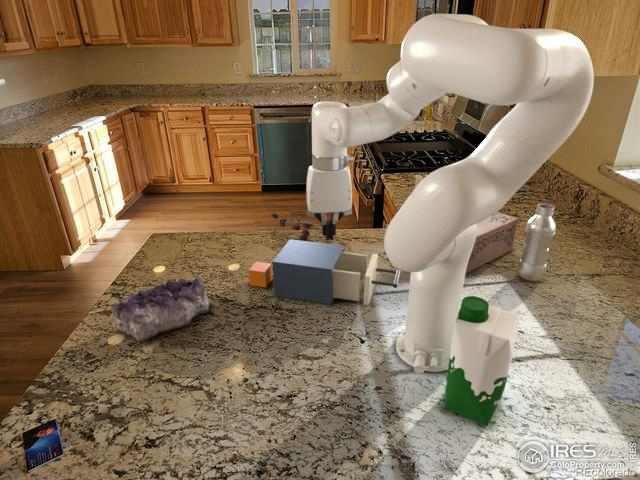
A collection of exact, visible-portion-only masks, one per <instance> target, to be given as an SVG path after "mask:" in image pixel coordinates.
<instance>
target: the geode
mask: <svg viewBox="0 0 640 480" xmlns="http://www.w3.org/2000/svg"><path fill="white" fill-rule="evenodd" d="M209 294H210V292H208V291H207V289H206V287H205V284H204V282H203V281H202V279H201V278H200V277H195V278H194V279H193V280H189V279H185V278H180V279H179V280H178V281H177V280H175V281H173V280H171V279H167V280H166V282H165V284H163V283H161V284H159V285H156V286H154V287H151V288H148V289H145V290H142V289H139V290H138V292H136V293H134V294H133V295H131V294H129V295H128V296H126V297H125V298H124V300H123V301H122V302H119V303H117V304H116V303H115V304H114V305H112V306H111V313H112V315H113V316H115V317H116V319H115V320H116V321H115V323H116V329H117V331H119V332H121V333H123V334H126V335H128V336H130V337H132V338H133V339H134V340H135V341H136V342H138V343H143V342H146V341H149V340H151V339H152V338H153V337H155V336H157V335H159V334H161V333H166V332H167V333H168V332H170V331H174V330H175V329H181V328H184V327H187V326H188V325H190V324H191V323H192V320H193V319H194V318H196V317H198V316H199V315H203V314H204V315H205V314H208V313H209V310H210V308H211V305H210V302H209Z"/></svg>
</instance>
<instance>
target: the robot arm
mask: <svg viewBox="0 0 640 480" xmlns="http://www.w3.org/2000/svg"><path fill="white" fill-rule="evenodd" d="M590 55H591V54H590V53H589V51H588V49H587V48H586V46H585V45H584V43H583V42H582V41H581V40H580V39H579V38H578V36H575V35H574V34H572V33H570V32H567V31H565V30H562V29H557V28H512V27H511V28H510V27H502V26H495V25H490V24H488V23H487V22H486V21H485V20H483V19H481V18H480V17H479V16H475V15H472V14H465V13H464V14H462V13H461V14H459V13H458V14H457V13H433V14H428V15H426V16H423V17H422V18H420V19H419V20H417V21H416V22H414V24H412V26H411V27H410V28H409V29H408V31H407V32H406V34H405V36H404V38H403V41H402V43H401V49H400V60H399V61H398V62H396V63H395V64H393V66H392V67H391V68H390V69H389V71H388V73H387V76H386V87H387V91H388V93H387V94H386V95H384V96H383V97H382V98H380V99H379V100H378V101H375V102H372V103H371V102H370V103H365V104H359V105H353V106H347V105H346V104H345V103H344V102H341V101H320V102H317V103H315V104H313V106H312V108H311V162H312V163H311V165H310V166H309V167H308V168H307V176H306V189H305V203H306V208H305V215H306V217H308V218H316V220H318V221H319V222H320V223H322V224H321V228H322V230H321V232H322V234H321V235H322V236H323V237H325V240H326V241H327V242H328V240H329V241H334V236H333V235H336V234H337V224H338V222H339V221H340V220H341V219H342V218H343V217H347V216H350V215H352V214H353V208H352V207H353V185H352V176H351V175H352V174H351V169H350V166H349V163H354V155H349V154H348V148H354V147H358V146H361V145H366V144H370V143H375V142H381V141H382V140H385V139H388V138H390V137H391V136H393V135H394V134H397V133H398V132H399V131H401V130H403V129H404V128H406V127H407V126H409V125H411V123H413V122H414V121H415V120H416V118H417V117H418V116H419V115H420V113H421V111H422V110H423V109H424V108H425V107H427V106H429V105H430V104H432V103H433V102H435V101H436V100H438V99H439V98H441V97H442V96H444V95H446V94H447V93H450V94H453V95H456V96H460V97H462V98H466V99H469V100H471V101H476V102H478V103H482V104H487V105H493V106H511V105H515V106H514V107H513V108H512V109H511V110H510V111H508V113H507V114H506V115H505V116H503V117H502V118H501V119H500V120H499V121H498V122H497V123H496V124H495V125H494V127H492V129H491V130H490V131H489V133H488V134H487V135H486V137H485V138H484V140H483V141H482V142H480V143H479V145H478V147H477V148H475V150H474V151H472V153H470V154H469V156H467V157H466V158H464V159H461V160H459V161H456V162H454V163H451V164H448V165H445V166H442V167H439V168H437V169H435V170H434V171H432V172H429V174H427V175H426V176H425V177H424V178H422V180H421V181H420V182H418V184H417V185H416V186H415V188H414V189H413V190H412V192H411V193H410V194H409V195H408V197H407V198H406V199H405V201H404V202H403V204H402V205H401V206H400V208H399V209H398V211H397V212H396V214H395V215H394V216H393V217H392V219H391V220H390V222H389V224H388V226H387V227H386V230H385V233H384V240H383V247H384V252H385V255H386V258H387V259H388V260H389V261H388V262H390V263H391V265H392V266H394V267H395V268H397V269H399V270H401V272H402V271H403V272H405V273H410V276H409V277H410V278H409V287H408V296H407V297H408V298H407V307H406V318H405V329H404V331H402V332H401V333H400V334H398V336H397V338H396V343H395V350H396V353H397V354H398V356H399V358H400V359H401V360H402V361H404V363H406V364H407V365H409V366H410V367H413V371H414V373H416V374H417V375H420V374H421V375H422V374H423V373H425V372H430V373H439V372H444V371H448V365H449V359H450V352H451V346H452V340H453V334H454V326H455V322H456V319H457V317H458V313H459V310H460V308H461V302H462V294H463V290H464V283H465V277H466V274H467V273H466V268H467V264H468V261H469V258H470V255H471V252H472V250H473V247H474V243H475V240H476V235H477V223H478V222H480V221H482V220H484V219H486V218H488V217H490V216H492V215H493V214H495V213H496V212H500V211H501V209H502V208H503V207H504V206H505V205H506V204H507V203H508V202H509V201H510V200H511V198H513V196H514V195H515V194H516V193H517V192H518V191H519V190H520V189H521V188H522V187H523V186H524V185H526V183H527V182H528V181H529V180H530V179H531V177H533V176H534V175H535V173H536V172H537V171H538V170H540V168H541V167H542V166H543V165H544V163H546V162H547V161H548V160H549V159H550V158H551V156H553V154H555V153H556V152H557V151H558V150H559V148H560V147H561V146H562V145H563V144H564V143H565V142H566V141H567V140H568V138H569V137H570V136H571V135H572V134H573V132H574V131H575V130H576V128H577V127H578V126H579V124H580V123H581V121H582V119H583V117H584V116H585V114H586V112H587V110H588V108H589V105H590V102H591V99H592V96H593V91H594V83H595V75H594V65H593V62H592V58H591V56H590ZM329 213H330V218H329V220H328V217H327V214H329ZM336 236H337V235H336ZM465 273H466V274H465Z"/></svg>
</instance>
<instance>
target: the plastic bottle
mask: <svg viewBox="0 0 640 480" xmlns="http://www.w3.org/2000/svg"><path fill="white" fill-rule="evenodd" d="M536 206H537V207H536V209H535V214H534V215H533V216H532V217H530V218H529V220H528V221H527V222H526V225H525V239H524V246H523V250H522V255H521V257H520V259H519V262H518V263H517V269H516V271H517V274H518V276H519V277H520V278H521V279H523V280H526V281H529V282H539V281H541V280H542V279H543V278H544V277H545V275H546V274H547V258H548V252H549V249H550V245H551V243H552V240H553V237H554V235H555V234H556V230H557V224H556V221H555V220H554V218H553V216H554V212H555V208H556V207H555V206H554V205H552V204H549V203H538V204H537V205H536Z"/></svg>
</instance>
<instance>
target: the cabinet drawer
mask: <svg viewBox="0 0 640 480" xmlns="http://www.w3.org/2000/svg"><path fill="white" fill-rule="evenodd" d="M378 261H379V254H378V253H372V255H371V258H370V261H369V264H368V254H365V253H364V254H363V253H357V252H346V251H344V252H342V254H341V256H340V258H339V260H338V262H337V264H336V266H335V267H334V269H333V297H334V298H335V299H342V300H348V301H355V302H359V301H360V298H361V296H362V293H363V306H369V305H370V302H371V299H372V297H373V293H374V291H375V287H376V285H379V286H387V287H392V288H393V289H397V288H398V287H399V283H400V278H401V273H402V270H400V269H398V268H397V269H396V270H395V269H387V268H379V267H378ZM378 272H379V273H380V272H381V273H389V274H394V277H393V282H389V281H381V280H377V279H378Z"/></svg>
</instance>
